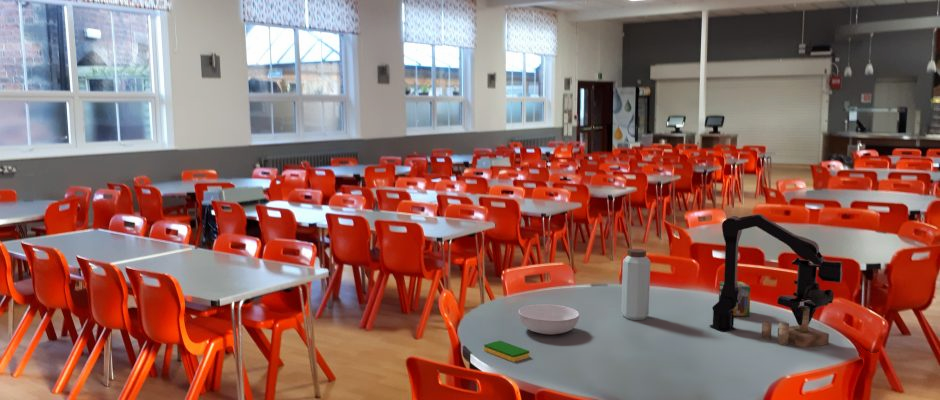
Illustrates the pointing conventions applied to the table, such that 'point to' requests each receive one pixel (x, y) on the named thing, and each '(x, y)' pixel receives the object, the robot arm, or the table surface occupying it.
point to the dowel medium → (783, 333)
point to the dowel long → (805, 321)
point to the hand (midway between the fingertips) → (803, 324)
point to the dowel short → (766, 330)
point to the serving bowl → (548, 318)
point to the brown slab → (807, 337)
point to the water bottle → (635, 285)
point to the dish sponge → (506, 351)
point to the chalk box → (744, 303)
